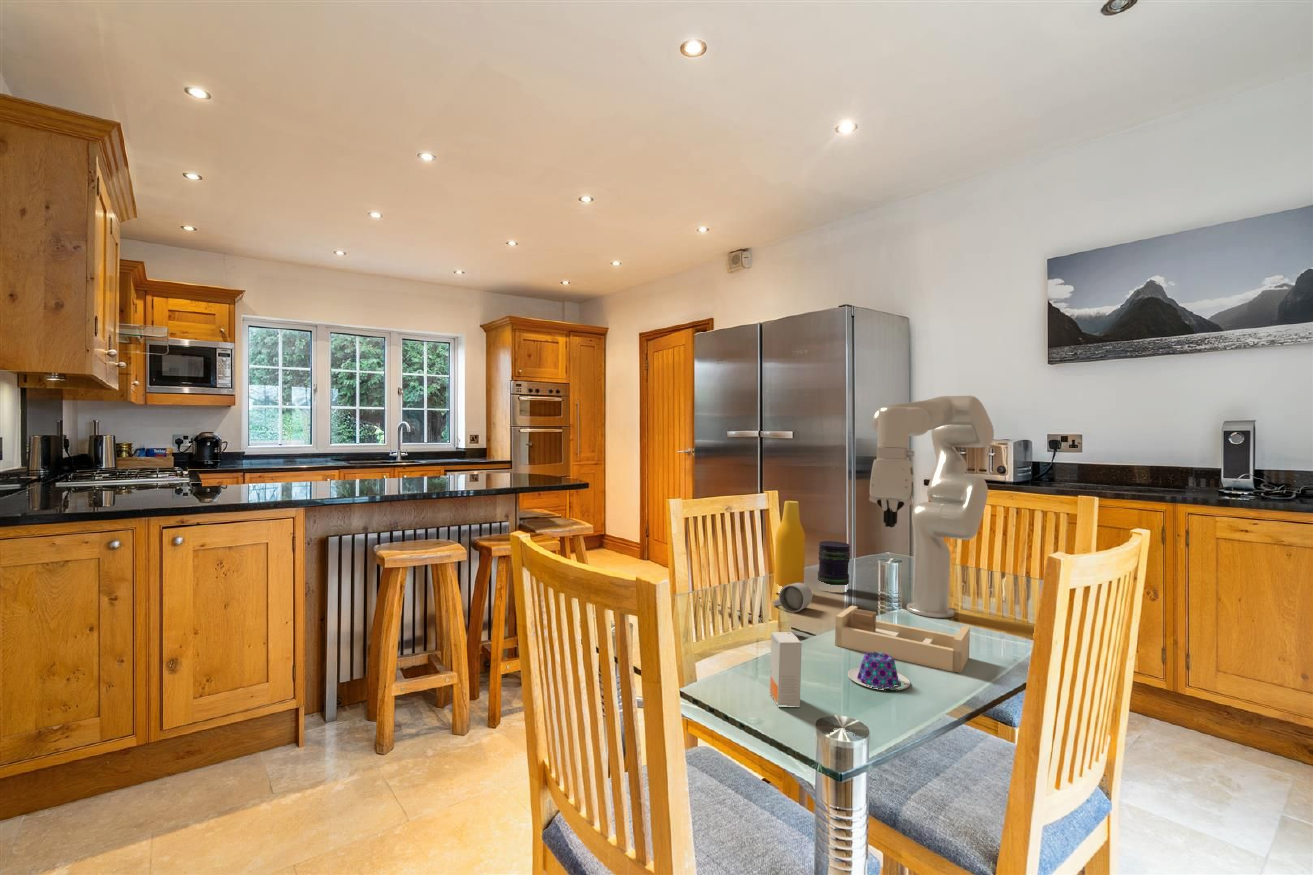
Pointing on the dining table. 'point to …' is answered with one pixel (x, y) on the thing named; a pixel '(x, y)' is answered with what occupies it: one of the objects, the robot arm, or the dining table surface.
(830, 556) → the storage jar
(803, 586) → the ceramic mug
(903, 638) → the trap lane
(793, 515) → the beer bottle
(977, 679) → the dining table surface
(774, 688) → the skincare box
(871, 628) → the walnut block
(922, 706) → the dining table surface
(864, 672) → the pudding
